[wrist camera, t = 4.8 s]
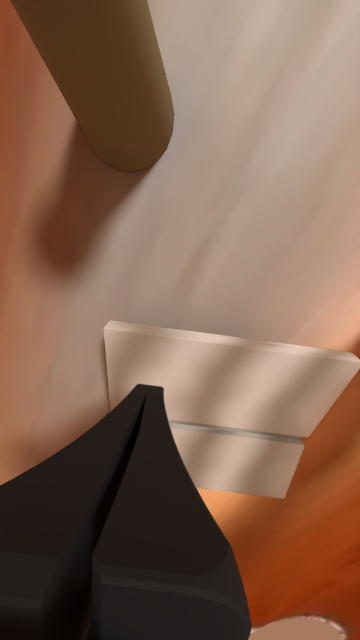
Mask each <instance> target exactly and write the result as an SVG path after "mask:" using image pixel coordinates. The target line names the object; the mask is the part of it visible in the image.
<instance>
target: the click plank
mask: <svg viewBox="0 0 360 640" xmlns="http://www.w3.org/2000/svg"><path fill="white" fill-rule="evenodd" d="M104 340H105V352H106V364H107V376H108V388H109V401H110V412H111V411H112V410H113V409H114V408H115V407H116V406H117V405H118V404H119V403H120V402H121V401H122V400H123V399H124V398H125V397H126V396H127V395H128V394H129V393H130V392H131V390H132V389H133V388H134V387H135V386H136V385H137V384H146V385H153V386H161V387H163V388H164V403H165V409H166V413H167V417H168V419H169V420H176V421H184V422H192V423H200V424H207V425H215V426H223V427H231V428H238V429H246V430H254V431H261V432H269V433H277V434H285V435H292V436H300V437H309V436H310V435H311V433H312V432H313V431H314V429H315V428H316V427H317V425H318V424H319V423H320V421H321V420H322V419H323V417H324V416H325V415H326V413H327V412H328V411H329V409H330V408H331V407H332V405H333V404H334V403H335V401H336V400H337V399H338V397H339V396H340V395H341V393H342V392H343V391H344V389H345V388H346V387H347V385H348V384H349V383H350V381H351V380H352V378H353V377H354V376H355V374H356V373H357V372H358V370H359V369H360V359H359V358H357V357H356V356H355V355H354V354H353V353H352V352H345V351H337V350H330V349H322V348H315V347H307V346H300V345H292V344H284V343H277V342H269V341H262V340H254V339H247V338H239V337H231V336H224V335H216V334H209V333H201V332H194V331H186V330H178V329H171V328H163V327H156V326H148V325H141V324H133V323H125V322H118V321H109V323H108V324H107V325H106V326H105V328H104Z"/></svg>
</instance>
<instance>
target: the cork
mask: <svg viewBox="0 0 360 640" xmlns="http://www.w3.org/2000/svg"><path fill="white" fill-rule="evenodd" d="M10 1H11V3H12V4H13V6H14V8H15V10H16V12H17V13H18V15H19V17H20V19H21V21H22V22H23V24H24V26H25V28H26V30H27V31H28V33H29V35H30V37H31V39H32V40H33V42H34V44H35V46H36V48H37V49H38V51H39V53H40V55H41V57H42V58H43V60H44V62H45V64H46V66H47V68H48V69H49V71H50V73H51V75H52V77H53V78H54V80H55V82H56V84H57V86H58V87H59V89H60V91H61V93H62V95H63V96H64V98H65V100H66V102H67V104H68V105H69V107H70V109H71V111H72V113H73V114H74V116H75V118H76V120H77V122H78V123H79V125H80V127H81V129H82V131H83V132H84V134H85V136H86V138H87V140H88V141H89V143H90V145H91V147H92V148H93V150H94V152H95V153H96V154H97V155H98V156H99V157H100V158H101V159H102V160H103V161H104V162H105V163H106V164H107V165H109V166H111V167H113V168H115V169H117V170H119V171H126V172H136V171H140V170H144V169H147V168H148V167H149V166H151V165H152V164H154V163H155V162H157V161H158V160H159V158H160V157H161V156H162V154H163V153H164V152H165V150H166V149H167V147H168V144H169V141H170V138H171V136H172V133H173V123H174V110H173V104H172V98H171V94H170V90H169V86H168V82H167V78H166V74H165V70H164V66H163V62H162V58H161V54H160V50H159V46H158V42H157V38H156V34H155V30H154V26H153V22H152V19H151V15H150V11H149V7H148V3H147V0H10Z"/></svg>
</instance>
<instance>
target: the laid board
mask: <svg viewBox="0 0 360 640" xmlns="http://www.w3.org/2000/svg"><path fill="white" fill-rule="evenodd" d="M168 421H169V425H170V428H171V431H172V435H173V438H174V440H175V443H176V446H177V448H178V451H179V453H180V456H181V458H182V460H183V462H184V465H185V467H186V469H187V471H188V473H189V475H190V477H191V479H192V481H193V483H194V485H195V487H196V488H202V489H210V490H218V491H225V492H233V493H241V494H249V495H257V496H265V497H272V498H280V499H284V498H285V496H286V493H287V491H288V488H289V486H290V483H291V480H292V478H293V475H294V473H295V470H296V468H297V465H298V463H299V460H300V457H301V455H302V452H303V450H304V447H305V444H304V443H303V441H302V437H300V436H292V435H285V434H277V433H269V432H261V431H254V430H246V429H238V428H231V427H223V426H215V425H207V424H200V423H192V422H184V421H176V420H169V419H168Z"/></svg>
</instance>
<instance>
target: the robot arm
mask: <svg viewBox="0 0 360 640" xmlns="http://www.w3.org/2000/svg"><path fill="white" fill-rule="evenodd" d="M251 626H252V624H251V619H250V613H249V607H248V603H247V599H246V595H245V591H244V587H243V583H242V579H241V576H240V572H239V569H238V566H237V563H236V560H235V556H234V553H233V550H232V548H231V545H230V543H229V542H228V540H227V539H226V537H225V536H224V534H223V532H222V531H221V529H220V528H219V526H218V525H217V523H216V521H215V520H214V518H213V517H212V515H211V513H210V512H209V510H208V508H207V507H206V505H205V503H204V501H203V500H202V498H201V496H200V494H199V493H198V491H197V489H196V487H195V485H194V483H193V481H192V479H191V477H190V475H189V473H188V471H187V469H186V467H185V465H184V462H183V460H182V458H181V456H180V453H179V451H178V448H177V446H176V443H175V440H174V438H173V435H172V431H171V428H170V425H169V421H168V417H167V413H166V409H165V403H164V388H163V387H161V386H153V385H146V384H137V385H136V386H135V387H134V388H133V389H132V390H131V392H130V393H129V394H128V395H127V396H126V397H125V398H124V399H123V400H122V401H121V402H120V403H119V404H118V405H117V406H116V407H115V408H114V409H113V410H112V411H111V412H110V413H108V414H107V415H106V416H105V417H104V418H103V419H102V420H100V421H99V422H98V423H97V424H96V425H94V426H93V427H92V428H91V429H90V430H88V431H87V432H86V433H84V434H83V435H82V436H80V437H79V438H78V439H76V440H75V441H73V442H72V443H71V444H69V445H68V446H66V447H65V448H63V449H62V450H60V451H59V452H57V453H56V454H54V455H53V456H51V457H50V458H48V459H46V460H45V461H43V462H41V463H40V464H38V465H36V466H34V467H33V468H31V469H29V470H28V471H26V472H24V473H22V474H21V475H19V476H17V477H15V478H13V479H12V480H10V481H8V482H6V483H4V484H2V485H0V640H248V638H249V636H250V632H251Z"/></svg>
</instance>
